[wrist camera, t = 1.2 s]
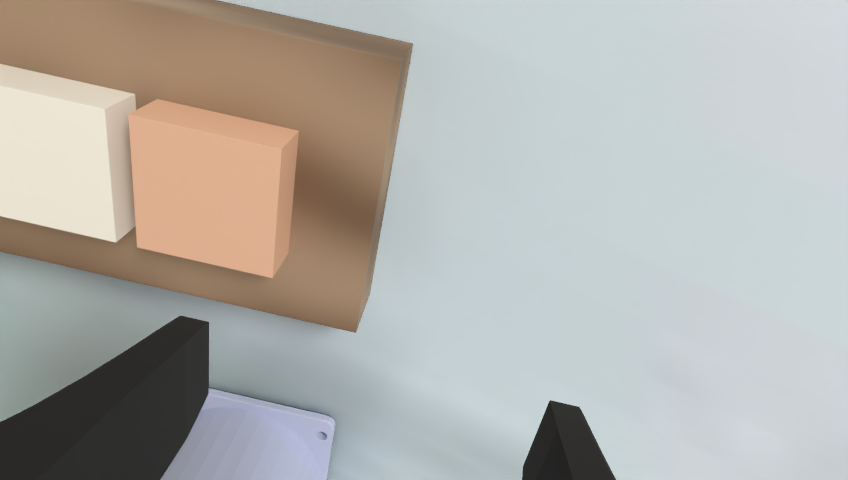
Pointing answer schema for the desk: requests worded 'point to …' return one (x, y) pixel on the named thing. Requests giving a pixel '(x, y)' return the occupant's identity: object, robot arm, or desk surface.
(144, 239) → the terracotta tile
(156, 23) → the walnut board
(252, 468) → the robot arm
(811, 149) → the desk surface
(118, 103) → the cream tile
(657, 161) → the desk surface
